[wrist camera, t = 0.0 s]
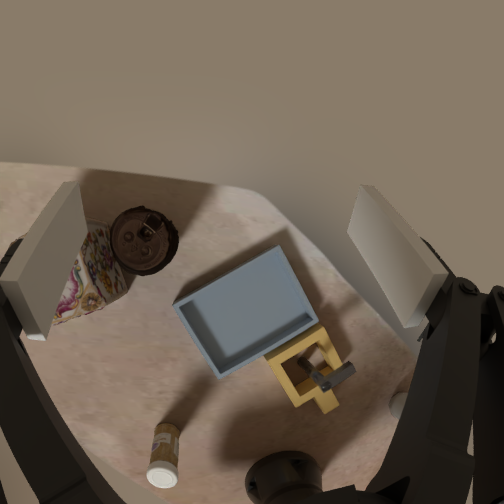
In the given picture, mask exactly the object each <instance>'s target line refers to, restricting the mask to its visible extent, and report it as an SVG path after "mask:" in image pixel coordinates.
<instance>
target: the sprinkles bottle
mask: <svg viewBox="0 0 504 504" xmlns="http://www.w3.org/2000/svg"><path fill="white" fill-rule="evenodd" d="M154 434H155V435H154V439H153V444H152V450H151V458H150V464H149V466H148V469H147V479H148V480H149V482H150V483H151V484H153V485H154V486H156V487H160V488H170V487H173V486H174V485H176V483H177V481H178V469H177V465H178V453H179V436H180V434H179V430H178V429H177V428H176V427H175V426H174V425H172V424H168V423H162V424H160V425H158V426H157V427H156V428H155V431H154Z"/></svg>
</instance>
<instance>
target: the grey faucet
mask: <svg viewBox="0 0 504 504" xmlns="http://www.w3.org/2000/svg"><path fill="white" fill-rule="evenodd" d="M298 364H299V365H300V366H301V367H302V369H303V370H304V371H305V372H306V373H307V374H308V375H309V376H310V377H311V379H312V380H313V381H314V382H315V383H316V384H317V385H318V386H319V388H320V390H321V391H322V392H323V393H325V392H327V391H329V390H330V389H331V388H333V387H334V386H336V385H337V384H339V383H340V382H342V381H343V380H345V379H346V378H348V377H349V376H351V375H352V374H354V373H355V372H356V370H355V368H354V365H353V364H352V363H351V362H349V361H348V362H346V363H345V364H343V365H342V366H340V367H339V368H337V369H336V370H334V371H333V372H331V373H329V374H328V375H326V376H325V377H324V376H323V375H322V374H321V373H320V372H319V371H318V370H317V369H316V368H315V367H314V366H313V365H312V364H311V363H310V362H309V361H308V360H307V359H306V358H305V357H300V358H299V359H298Z"/></svg>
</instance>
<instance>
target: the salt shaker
mask: <svg viewBox="0 0 504 504" xmlns="http://www.w3.org/2000/svg"><path fill="white" fill-rule="evenodd" d="M407 395H408V393H397V394H396V395H395V396H393V397H392V398H391V401H390V404H389V407H390V411H391V413H392V415H393V416H394V417H395V418H397V419H400V416H401V413H402V411H403V408H404V405H405V401H406V398H407Z"/></svg>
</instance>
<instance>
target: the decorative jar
mask: <svg viewBox="0 0 504 504" xmlns="http://www.w3.org/2000/svg"><path fill="white" fill-rule="evenodd" d="M85 220H86V225H87V230H88V233H87V236H86V238H85V240H84V242H83V244H82V247H81V249H80V251H79V253H78V256H77V258H76V261H75V263H74V265H73V268H72V270H71V273H70V275H69V278H68V280H67V283H66V285H65V288H64V290H63V293H62V296H61V298H60V301H59V304H58V307H57V309H56V312H55V315H54V318H53V321H52V324H51V325H57V324H60V323H63V322H66V321H68V320H69V319H71V318H75V317H80V316H81V315H84V314H85V315H87V314H89V313H91V312H94V311H96V310H101V309H103V308H104V307H105V306H107V305H108V304H110V303H112V302H114V301H116V300H117V299H119V298H121V297H122V296H123V295H125V294H126V293H127V292H128V289H127V285H126V282H125V279H124V276H123V274H122V271H121V267H120V266H119V265H118V263H117V262H116V260H115V258H114V257H113V253H112V251H111V248H110V241H109V238H110V231H109V228H108V225H107V223H106V222H103V221H100V220H96V219H92V218H87V217H85ZM27 233H28V232H27ZM27 233H26V234H27ZM26 234H25V235H23V236H21V237H19V238H18V239H20V238H24V237H25V236H26ZM18 239H16V240H15V241H14V242H12V243H11V244H10V246H11V245H12V244H13V243H15V242H16V241H17V240H18ZM10 246H9V247H10ZM8 249H9V248H8Z"/></svg>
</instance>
